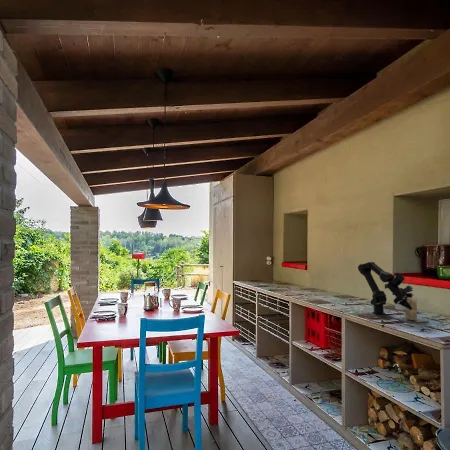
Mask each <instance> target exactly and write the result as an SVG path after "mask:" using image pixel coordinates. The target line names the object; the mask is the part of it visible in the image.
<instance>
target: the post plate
mask: <svg viewBox="0 0 450 450" xmlns="http://www.w3.org/2000/svg"><path fill="white" fill-rule="evenodd" d="M394 320H396V321H401V322H404V323H407V324H411V325H412V324H413V325H414V324H422V323H424V324H425V323H429V322H430V320H427V319H422V318H419V317H417V319H415V320H411V319H406V316H405V317H395V318H394Z"/></svg>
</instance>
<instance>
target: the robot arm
mask: <svg viewBox="0 0 450 450" xmlns="http://www.w3.org/2000/svg"><path fill="white" fill-rule="evenodd" d="M357 270H358V272H359V273H360V274H361V275H362V276H363V277H364V278H365V280H366V282H367V284H368V286H369V288H370V290H371V292H372V298H371V300H370V305H373V311H372V312H371V313H372V314H375V315H386V313H385V312H384V309H385V308H384V305H385V306H386V304H387V299H388V298H387V295H386V293H385V291H384V290H380V289H379V287H378V284H377V282H376V280H375V279H374V277H373V275H372V272H374V274H376V275H378V276H379V277H378V278H379V279H380V280H381V282H382V283H385V284H384V289H385V290H386V289H388V290H389V291H390V292H391V293H392V296H394V299H393V303H394V305H395V304H398V302H400V303H399V304H400V305H402V306H404V307H406V308H408V309H410V310H412V307H411V306H410V305H409V303H408V302H407V298H413V296H414V294H413V293H412V292H414V290H413V287H412V286H411V285H406V286H405V287H404V288H402V287H400V286H401V284H402V283H403V282H404V281H405V277H404V275H402V274H400V273H399V272H395V273H394V274H392V273H391V272H389V271H385V270H384V269H382V268H381V267H380V266H378V265H377V264H376V263H375V262H374V261H368V262H366V263H360V264H359V265H358V266H357ZM395 296H396V298H395Z"/></svg>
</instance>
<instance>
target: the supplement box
mask: <svg viewBox="0 0 450 450" xmlns="http://www.w3.org/2000/svg"><path fill="white" fill-rule="evenodd" d="M395 298H396V296H395V295H394V299H395ZM399 303H400V302H398V304H395V303H394V307H395V310H398V311H401V312H404V311H405V312H406V307H404V306H402V305H400V304H399Z"/></svg>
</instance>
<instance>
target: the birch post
mask: <svg viewBox="0 0 450 450" xmlns="http://www.w3.org/2000/svg"><path fill="white" fill-rule="evenodd" d="M417 301H418V300H417V298H414V297H412V298H407V302H408V303H409V305H410V306H411V307H412V310H410V309H408V308H406V311H405V317H406V319H411V320H415V319H417V318H418V309H417V308H418V304H417V303H418V302H417Z"/></svg>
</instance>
